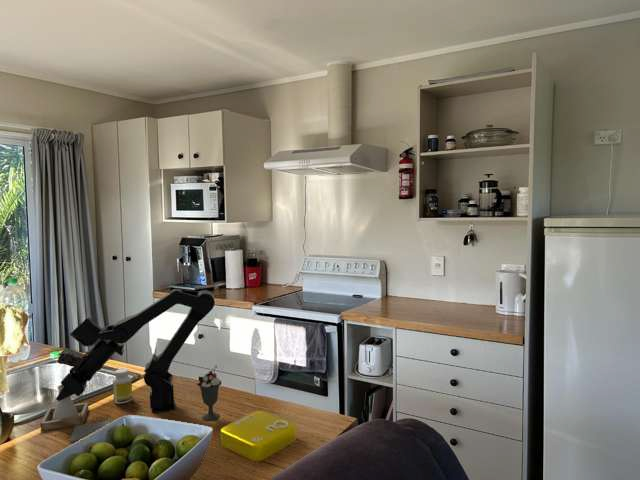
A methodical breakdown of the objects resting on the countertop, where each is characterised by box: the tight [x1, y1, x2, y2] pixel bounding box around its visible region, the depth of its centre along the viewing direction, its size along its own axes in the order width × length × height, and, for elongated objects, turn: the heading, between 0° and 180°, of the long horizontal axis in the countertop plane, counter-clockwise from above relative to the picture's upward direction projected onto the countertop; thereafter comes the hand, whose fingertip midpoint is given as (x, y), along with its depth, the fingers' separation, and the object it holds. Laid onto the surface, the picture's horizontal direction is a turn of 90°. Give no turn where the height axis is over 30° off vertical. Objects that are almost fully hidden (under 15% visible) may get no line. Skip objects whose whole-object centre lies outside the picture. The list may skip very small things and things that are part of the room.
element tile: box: [219, 410, 297, 462], centre depth 123 cm, size 15×15×5 cm
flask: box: [51, 384, 80, 421], centre depth 138 cm, size 7×7×10 cm
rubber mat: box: [69, 420, 111, 443], centre depth 130 cm, size 9×9×1 cm
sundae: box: [197, 365, 222, 422], centre depth 137 cm, size 7×7×15 cm
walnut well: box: [40, 402, 89, 431], centre depth 138 cm, size 11×11×2 cm
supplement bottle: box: [112, 368, 133, 405], centre depth 150 cm, size 5×5×10 cm
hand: (58, 397), depth 137 cm, fingers closed on flask, 3 cm apart
